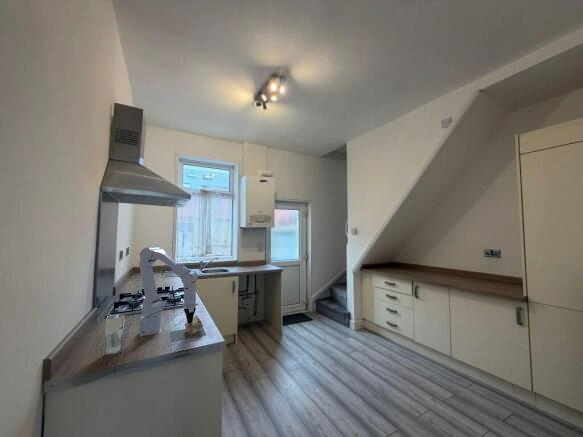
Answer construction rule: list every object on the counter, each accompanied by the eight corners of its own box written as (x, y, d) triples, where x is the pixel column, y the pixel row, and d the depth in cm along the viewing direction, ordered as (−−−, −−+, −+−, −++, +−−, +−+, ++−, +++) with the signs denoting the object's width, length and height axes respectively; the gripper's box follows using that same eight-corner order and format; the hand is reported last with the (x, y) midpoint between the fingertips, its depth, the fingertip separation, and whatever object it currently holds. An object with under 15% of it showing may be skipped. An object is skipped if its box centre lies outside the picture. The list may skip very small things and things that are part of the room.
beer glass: (108, 357, 102) (110, 320, 103) (101, 352, 105) (102, 317, 106) (127, 350, 107) (128, 315, 108) (119, 346, 111) (120, 312, 112)
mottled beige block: (186, 330, 120) (198, 320, 123) (184, 324, 128) (196, 314, 130) (190, 336, 120) (203, 326, 123) (189, 330, 128) (200, 320, 131)
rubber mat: (170, 343, 114) (170, 342, 114) (169, 332, 126) (169, 331, 126) (206, 336, 121) (206, 335, 122) (202, 326, 134) (202, 326, 134)
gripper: (200, 297, 121) (199, 325, 120) (196, 291, 134) (196, 317, 133) (184, 299, 118) (184, 328, 117) (182, 293, 130) (182, 319, 129)
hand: (189, 322), depth 125 cm, fingers closed, pressing on mottled beige block
